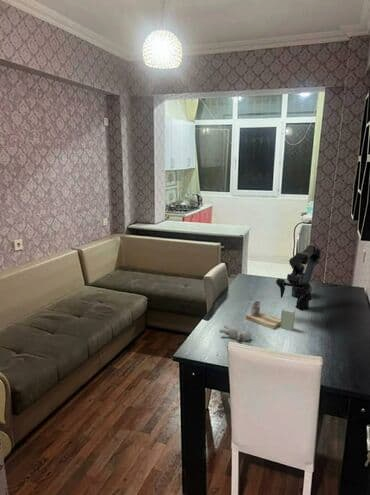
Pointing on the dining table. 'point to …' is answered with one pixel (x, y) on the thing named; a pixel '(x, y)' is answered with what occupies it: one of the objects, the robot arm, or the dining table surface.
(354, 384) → the dining table surface
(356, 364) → the dining table surface
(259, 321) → the tan board with upright
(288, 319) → the sage book
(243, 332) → the bunny figurine
